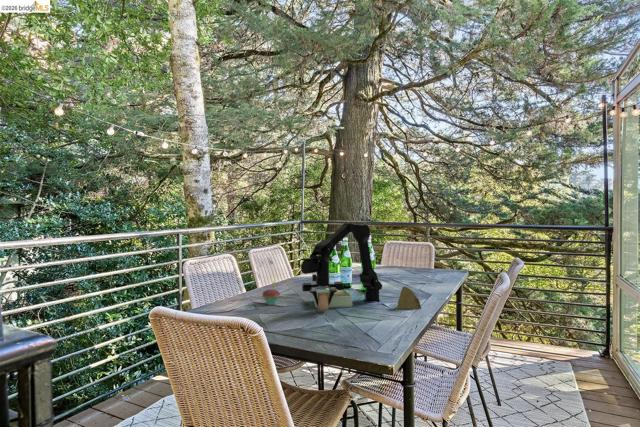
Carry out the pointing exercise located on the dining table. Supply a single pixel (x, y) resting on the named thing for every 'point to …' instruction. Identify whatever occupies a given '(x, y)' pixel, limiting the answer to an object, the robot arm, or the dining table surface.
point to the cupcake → (271, 295)
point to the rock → (408, 299)
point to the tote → (338, 299)
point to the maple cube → (338, 293)
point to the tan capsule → (323, 300)
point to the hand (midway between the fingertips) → (323, 305)
